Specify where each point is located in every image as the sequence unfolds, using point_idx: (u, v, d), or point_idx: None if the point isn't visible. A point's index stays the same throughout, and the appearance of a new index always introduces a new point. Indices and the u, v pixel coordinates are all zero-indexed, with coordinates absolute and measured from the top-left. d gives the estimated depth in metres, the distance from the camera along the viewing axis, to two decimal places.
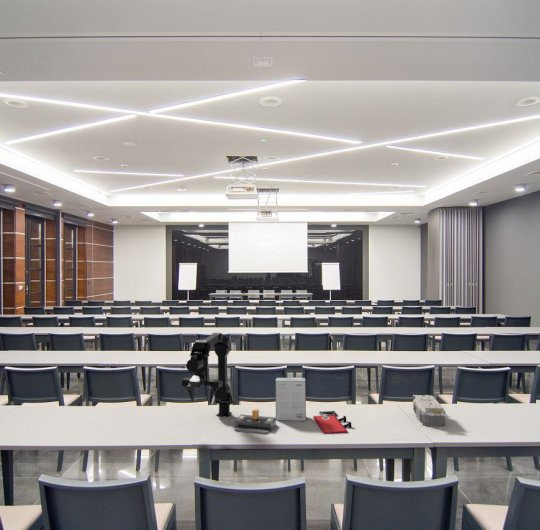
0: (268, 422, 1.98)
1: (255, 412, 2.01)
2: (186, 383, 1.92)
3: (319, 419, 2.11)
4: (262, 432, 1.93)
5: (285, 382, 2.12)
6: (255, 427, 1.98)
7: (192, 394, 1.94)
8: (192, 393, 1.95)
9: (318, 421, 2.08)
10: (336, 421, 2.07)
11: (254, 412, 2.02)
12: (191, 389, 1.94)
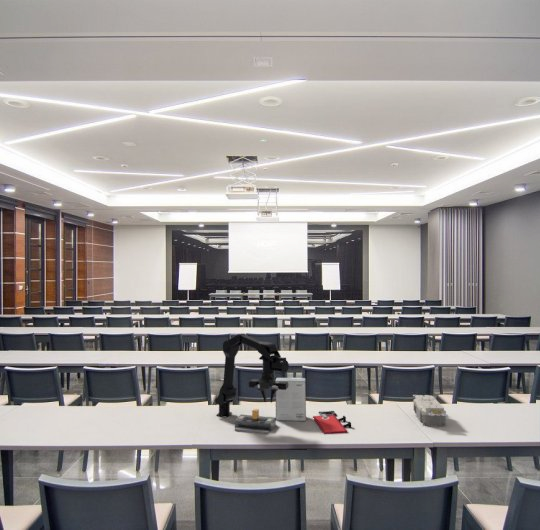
0: (268, 422, 1.98)
1: (255, 412, 2.01)
2: (254, 384, 2.00)
3: (318, 419, 2.11)
4: (262, 432, 1.93)
5: None
6: (255, 427, 1.98)
7: (265, 395, 2.02)
8: (265, 394, 2.02)
9: (318, 421, 2.08)
10: (336, 421, 2.07)
11: (254, 412, 2.02)
12: (264, 391, 2.02)
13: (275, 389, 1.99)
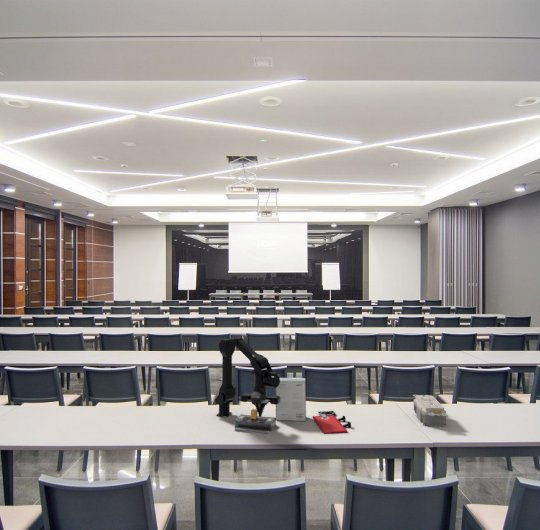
0: (268, 422, 1.98)
1: (254, 412, 2.02)
2: (246, 399, 2.01)
3: (318, 419, 2.11)
4: (262, 432, 1.93)
5: (285, 382, 2.12)
6: (255, 427, 1.98)
7: None
8: None
9: (317, 421, 2.08)
10: (335, 421, 2.07)
11: (253, 412, 2.02)
12: (259, 405, 2.02)
13: (264, 403, 2.00)
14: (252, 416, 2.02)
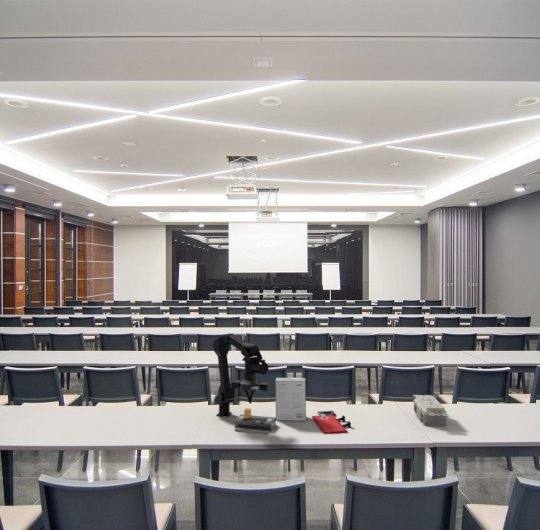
0: (268, 422, 1.98)
1: (247, 411, 2.03)
2: (236, 386, 2.03)
3: (318, 419, 2.11)
4: (262, 432, 1.93)
5: (285, 382, 2.12)
6: (255, 427, 1.98)
7: None
8: None
9: (317, 421, 2.08)
10: (335, 421, 2.07)
11: (246, 411, 2.03)
12: (249, 392, 2.04)
13: (254, 390, 2.01)
14: (245, 415, 2.03)
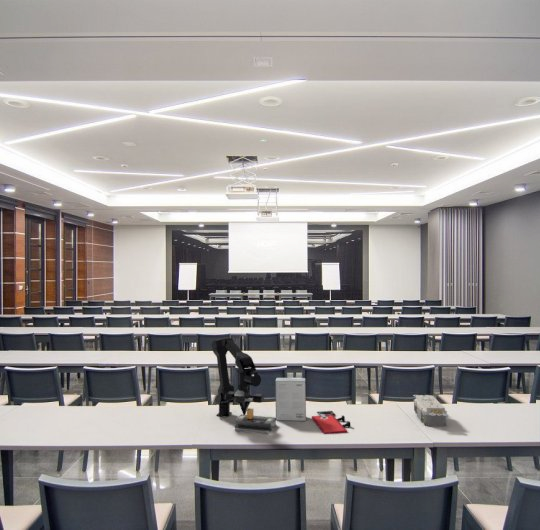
0: (268, 422, 1.98)
1: (250, 412, 2.02)
2: (230, 397, 2.03)
3: (317, 419, 2.11)
4: (262, 432, 1.93)
5: (285, 382, 2.12)
6: (255, 427, 1.98)
7: None
8: None
9: (317, 421, 2.08)
10: (335, 421, 2.07)
11: (249, 412, 2.02)
12: (243, 403, 2.04)
13: (248, 401, 2.02)
14: (248, 416, 2.02)
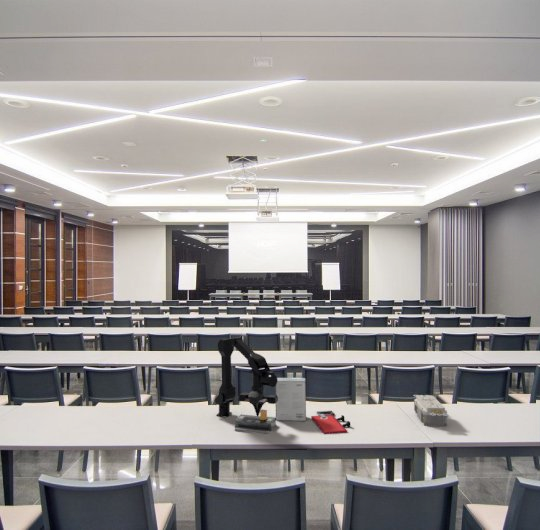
0: (268, 422, 1.98)
1: (263, 413, 2.00)
2: (243, 398, 2.02)
3: (317, 419, 2.11)
4: (262, 432, 1.93)
5: (285, 382, 2.12)
6: (255, 427, 1.98)
7: (257, 409, 2.03)
8: (257, 408, 2.03)
9: (317, 421, 2.08)
10: (335, 421, 2.07)
11: (262, 413, 2.01)
12: (256, 404, 2.02)
13: (262, 403, 2.00)
14: (261, 417, 2.01)
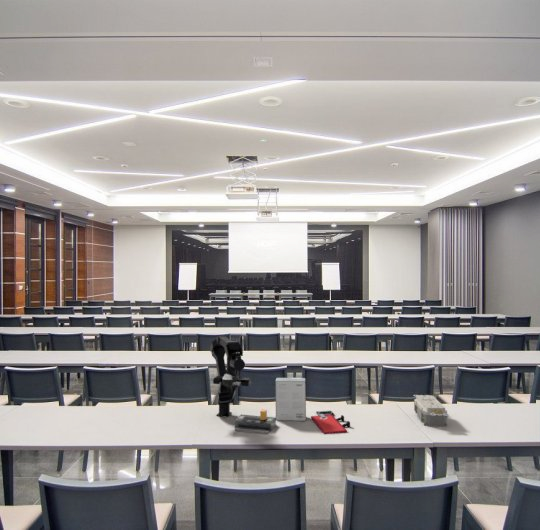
0: (268, 422, 1.98)
1: (263, 413, 2.00)
2: (218, 381, 2.08)
3: (317, 419, 2.11)
4: (262, 432, 1.93)
5: (285, 382, 2.12)
6: (255, 427, 1.98)
7: None
8: None
9: (316, 421, 2.08)
10: (334, 421, 2.07)
11: (262, 413, 2.01)
12: (230, 387, 2.08)
13: (236, 385, 2.06)
14: (261, 417, 2.01)
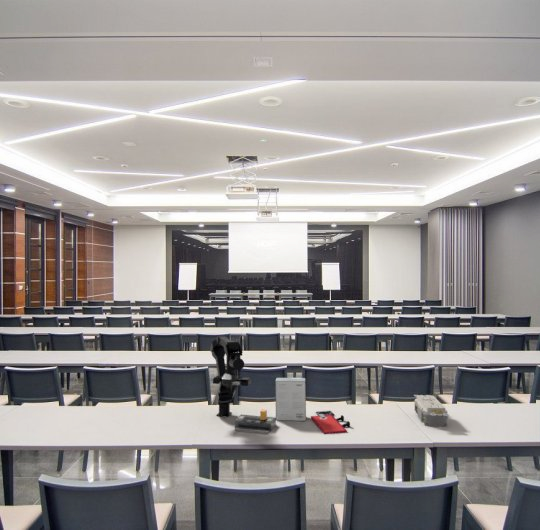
0: (268, 422, 1.98)
1: (263, 413, 2.00)
2: (218, 381, 2.08)
3: (316, 419, 2.11)
4: (262, 432, 1.93)
5: (285, 382, 2.12)
6: (255, 427, 1.98)
7: (231, 392, 2.09)
8: (231, 391, 2.09)
9: (316, 421, 2.08)
10: (334, 421, 2.07)
11: (262, 413, 2.01)
12: (230, 387, 2.08)
13: (235, 385, 2.06)
14: (261, 417, 2.01)
